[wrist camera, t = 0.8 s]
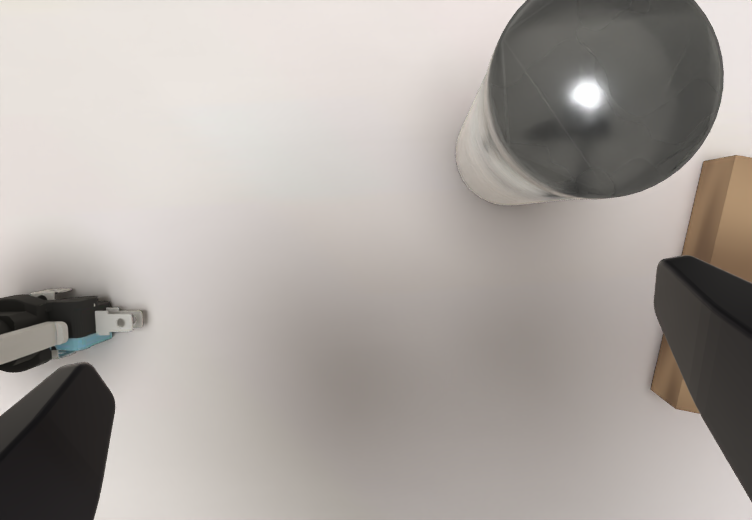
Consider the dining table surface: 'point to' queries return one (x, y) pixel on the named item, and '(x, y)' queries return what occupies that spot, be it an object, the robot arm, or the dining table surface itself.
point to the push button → (55, 327)
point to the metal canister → (591, 100)
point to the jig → (712, 250)
